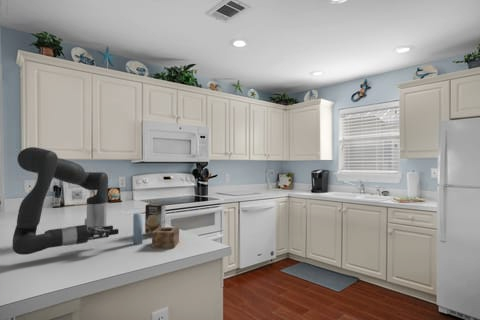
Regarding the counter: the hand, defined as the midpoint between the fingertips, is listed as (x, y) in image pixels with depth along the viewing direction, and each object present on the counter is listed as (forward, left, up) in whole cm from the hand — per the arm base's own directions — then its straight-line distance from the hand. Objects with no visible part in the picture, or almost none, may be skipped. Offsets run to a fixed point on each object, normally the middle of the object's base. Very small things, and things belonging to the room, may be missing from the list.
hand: (115, 229), depth 127 cm
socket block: (+22, +5, -8) cm, 24 cm away
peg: (+8, +7, -8) cm, 13 cm away
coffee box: (+11, +24, -8) cm, 27 cm away
